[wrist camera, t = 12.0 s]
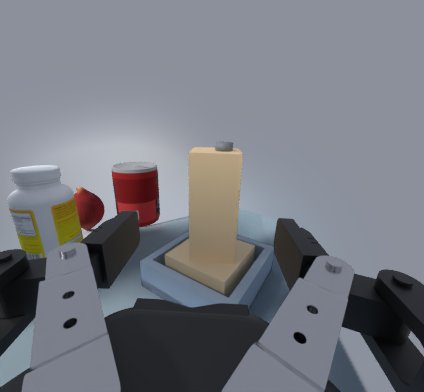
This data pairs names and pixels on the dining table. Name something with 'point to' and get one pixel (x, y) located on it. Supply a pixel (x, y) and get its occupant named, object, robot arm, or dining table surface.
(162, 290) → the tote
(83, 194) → the onion
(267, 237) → the dining table surface
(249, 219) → the dining table surface
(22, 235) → the supplement bottle
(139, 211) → the canned food
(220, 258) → the carton
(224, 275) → the beige slab
